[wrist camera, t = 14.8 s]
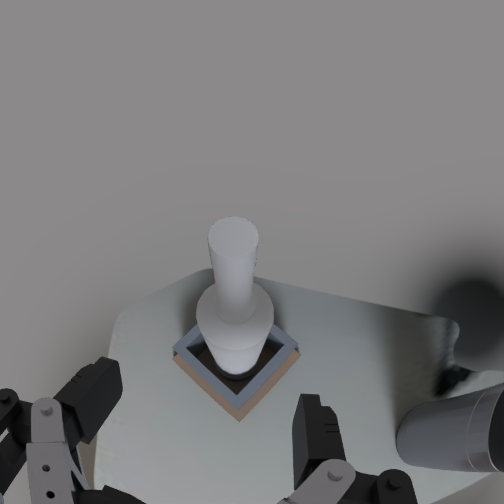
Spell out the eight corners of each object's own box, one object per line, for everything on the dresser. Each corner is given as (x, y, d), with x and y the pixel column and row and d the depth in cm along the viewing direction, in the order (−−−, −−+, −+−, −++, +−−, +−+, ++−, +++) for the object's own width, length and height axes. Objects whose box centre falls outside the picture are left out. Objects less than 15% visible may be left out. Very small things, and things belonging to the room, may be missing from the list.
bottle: (254, 337, 34) (282, 185, 13) (261, 377, 32) (311, 285, 11) (212, 342, 34) (169, 196, 13) (217, 383, 31) (170, 303, 10)
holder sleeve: (299, 356, 34) (311, 342, 28) (239, 421, 30) (238, 423, 24) (234, 302, 38) (232, 277, 32) (174, 360, 33) (158, 347, 27)
